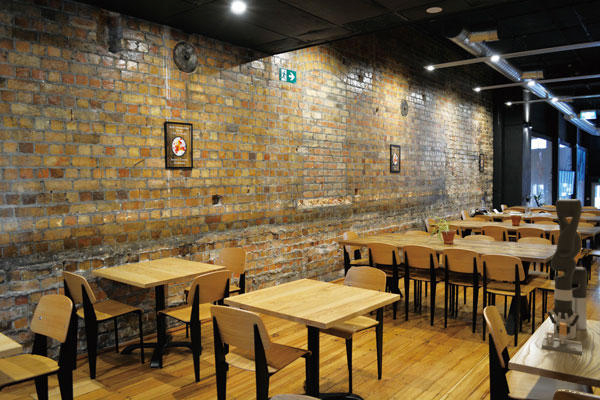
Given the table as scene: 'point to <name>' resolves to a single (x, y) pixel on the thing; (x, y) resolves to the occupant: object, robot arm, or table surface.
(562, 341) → the divider leg
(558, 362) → the table surface
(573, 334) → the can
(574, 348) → the gauge board
